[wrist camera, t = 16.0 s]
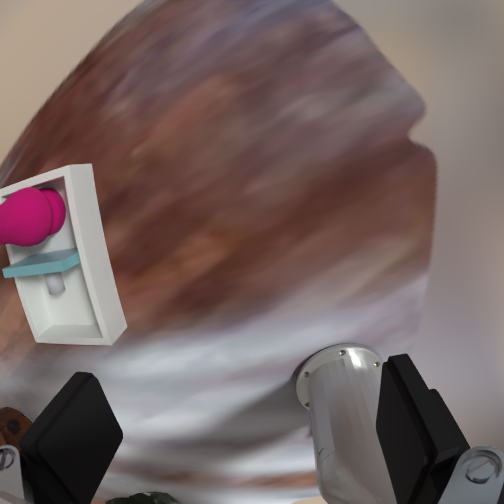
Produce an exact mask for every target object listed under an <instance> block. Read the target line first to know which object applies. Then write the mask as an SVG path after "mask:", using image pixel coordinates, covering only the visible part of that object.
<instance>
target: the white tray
mask: <svg viewBox="0 0 504 504" xmlns="http://www.w3.org/2000/svg"><path fill="white" fill-rule="evenodd" d="M26 187H34V188H37V189H42V188H52V189H54V190H56V191H57V192H58V193H59V194H60V195H61V197H62V198H63V201H64V203H65V208H66V218H65V222H64V225H63V226H62V228H61V229H60V230H59V231H58V232H57V233H55V234H52V235H50V236H47V238H46V239H45V240H44V241H43V242H41V243H40V244H38V245H34V246H30V247H22V246H17V245H13V244H6V248H7V252H8V256H9V260H10V264H11V265H12V264H14V263H16V262H18V261H20V260H22V259H24V258H26V257H29V256H31V255H34V254H40V253H46V252H52V251H58V250H64V249H71V248H78V252H79V257H80V261H81V262H80V263H78V264H76V265H74V266H73V267H71V268H69V269H68V270H66V271H63V272H61V275H62V278H63V282H64V285H65V289H66V290H65V291H63V292H62V293H59V294H56V295H50V294H49V291H48V288H47V284H46V281H45V277H44V274H36V275H27V276H19V277H14V279H15V282H16V286H17V289H18V292H19V296H20V299H21V302H22V305H23V308H24V311H25V314H26V317H27V319H28V322H29V325H30V328H31V330H32V333H33V335H34V338H35V341H36V342H37V343H55V344H78V345H113V344H114V342H115V341H116V340H117V339H118V338H119V336H120V335H121V334H122V333H123V332H124V330H125V329H126V328H127V324H126V321H125V317H124V314H123V310H122V307H121V303H120V300H119V296H118V292H117V289H116V285H115V281H114V277H113V273H112V269H111V265H110V260H109V256H108V252H107V247H106V243H105V238H104V233H103V228H102V223H101V218H100V213H99V207H98V201H97V196H96V189H95V183H94V177H93V170H92V164H78V165H68V166H65V167H62V168H59V169H55V170H52V171H49V172H46V173H43V174H41V175H38V176H35V177H32V178H29V179H26V180H24V181H21V182H18V183H16V184H13V185H10V186H8V187H5V188H3V189H0V205H1V204H2V203H3V202H4V201H5V200H6V199H7V198H8V197H9V196H10V195H11V194H13V193H14V192H16V191H17V190H20V189H23V188H26Z"/></svg>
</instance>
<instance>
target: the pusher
mask: <svg viewBox="0 0 504 504" xmlns="http://www.w3.org/2000/svg"><path fill="white" fill-rule="evenodd" d="M80 262H81V261H80V257H79V252H78V248H71V249H64V250H58V251H52V252H46V253H40V254H34V255H31V256H29V257H26V258H24V259H22V260H20V261H18V262H16V263H14V264H12V265H10V266H8V267H5V268H3V269H2V271H3V274H4V278H10V277H19V276H27V275H36V274H44V277H45V281H46V284H47V288H48V291H49V294H50V295H56V294H59V293H62V292H63V291H65V290H66V289H65V285H64V282H63V278H62V275H61V272H63V271H66V270H68V269H69V268H71V267H73V266H74V265H76V264H78V263H80Z"/></svg>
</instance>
